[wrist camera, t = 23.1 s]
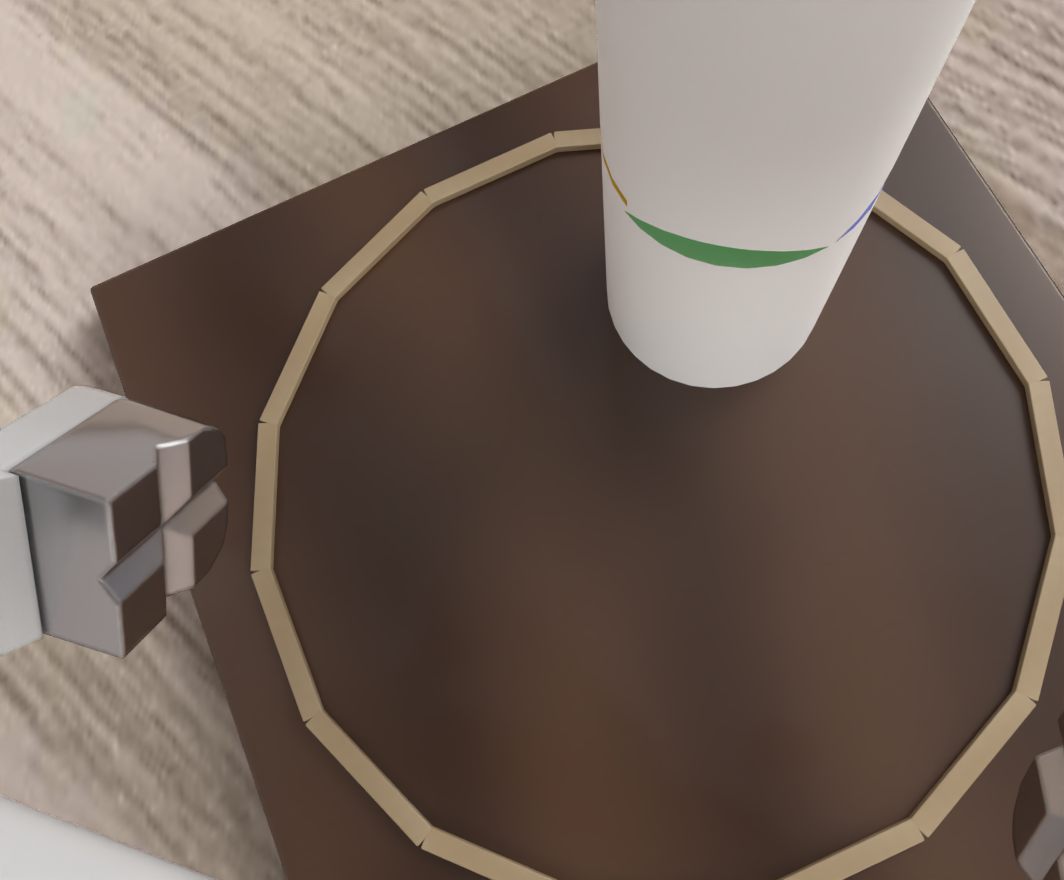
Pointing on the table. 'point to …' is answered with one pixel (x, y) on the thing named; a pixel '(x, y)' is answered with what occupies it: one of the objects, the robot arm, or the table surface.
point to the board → (617, 528)
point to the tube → (748, 164)
